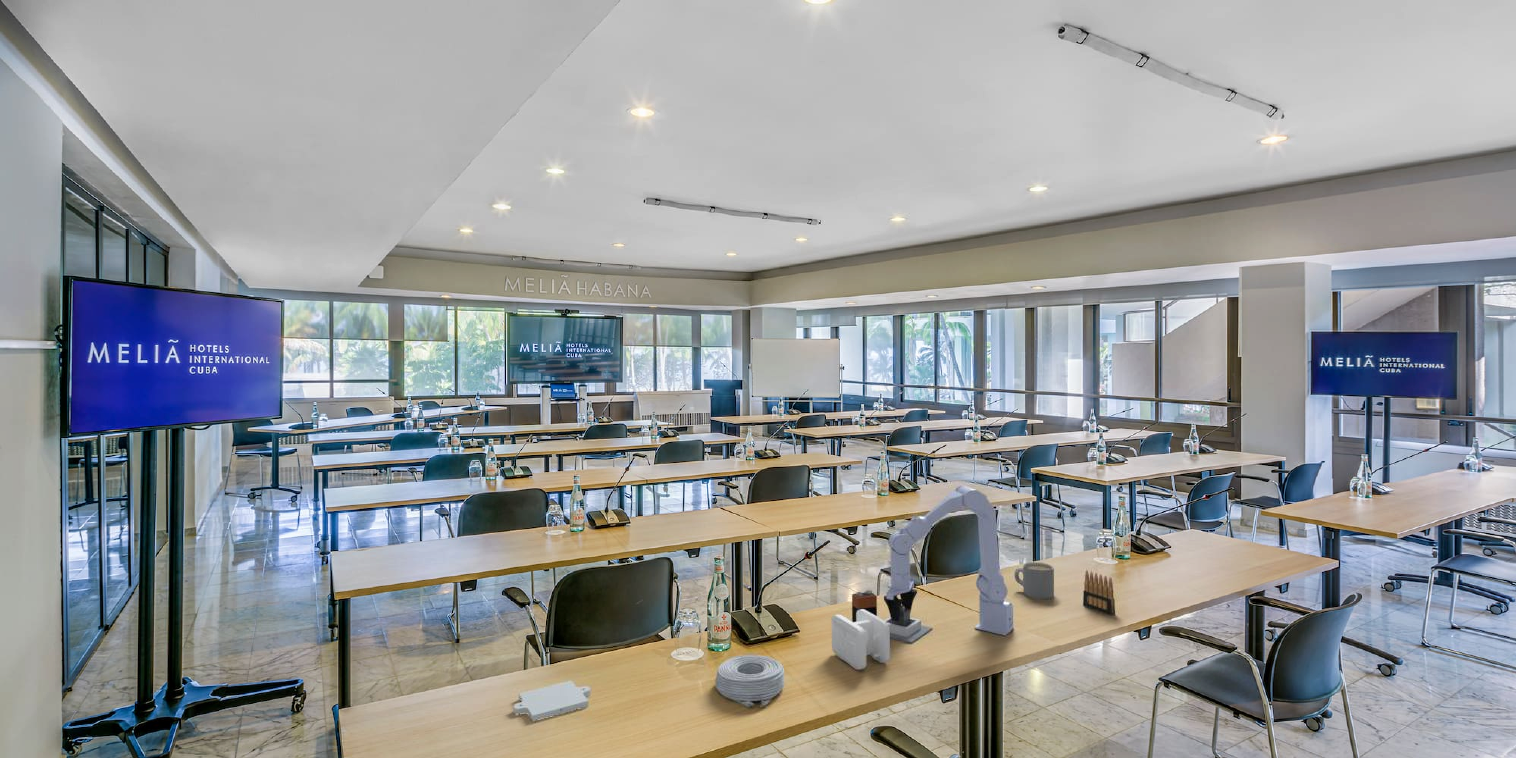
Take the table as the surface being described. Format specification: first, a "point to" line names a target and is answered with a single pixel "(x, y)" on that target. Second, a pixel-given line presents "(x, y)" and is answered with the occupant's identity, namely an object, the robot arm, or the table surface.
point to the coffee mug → (1037, 580)
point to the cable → (750, 679)
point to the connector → (903, 617)
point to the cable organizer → (861, 639)
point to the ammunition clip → (1098, 594)
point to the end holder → (907, 630)
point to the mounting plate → (552, 700)
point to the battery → (864, 603)
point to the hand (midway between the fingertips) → (900, 616)
